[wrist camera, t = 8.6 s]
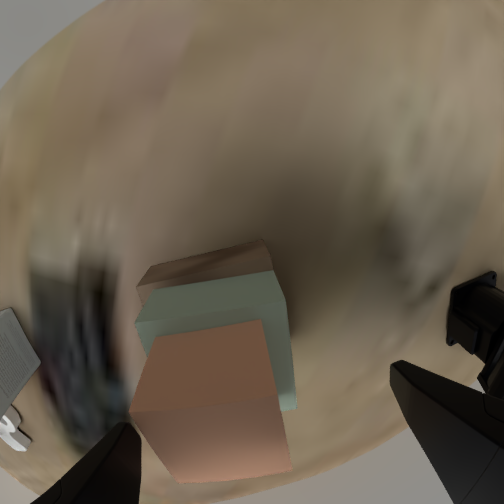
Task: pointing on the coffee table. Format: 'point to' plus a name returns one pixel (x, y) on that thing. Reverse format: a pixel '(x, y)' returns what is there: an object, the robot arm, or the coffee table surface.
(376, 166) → the coffee table surface
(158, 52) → the coffee table surface
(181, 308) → the sage top block
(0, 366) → the small box
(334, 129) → the coffee table surface
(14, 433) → the joystick
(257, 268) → the walnut base block
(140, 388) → the terracotta cube
